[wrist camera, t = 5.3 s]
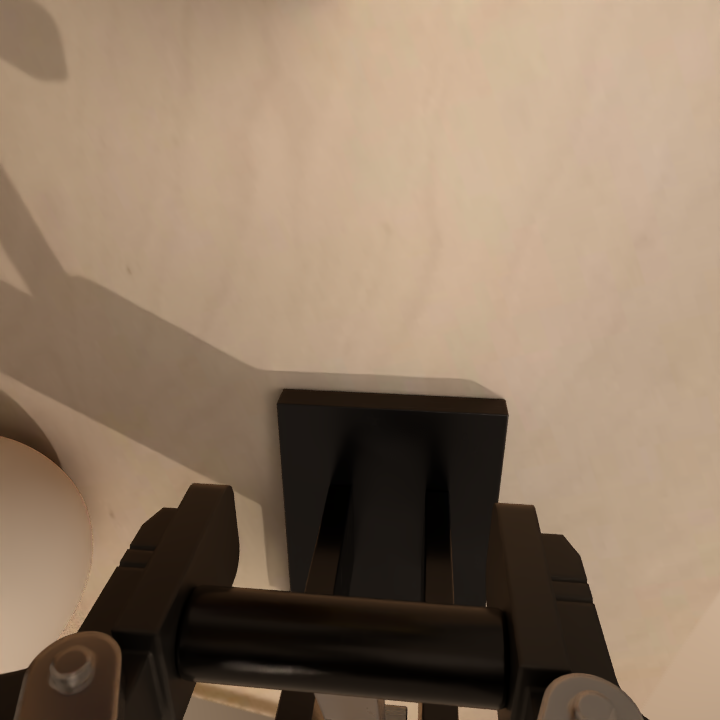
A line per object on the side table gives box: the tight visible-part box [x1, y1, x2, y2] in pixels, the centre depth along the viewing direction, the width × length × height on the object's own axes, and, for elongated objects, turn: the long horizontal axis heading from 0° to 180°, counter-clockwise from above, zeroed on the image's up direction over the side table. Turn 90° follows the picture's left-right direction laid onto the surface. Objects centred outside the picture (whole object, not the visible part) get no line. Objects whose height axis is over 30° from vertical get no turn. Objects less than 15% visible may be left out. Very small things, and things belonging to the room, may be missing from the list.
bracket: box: [275, 389, 509, 720], centre depth 22 cm, size 12×9×13 cm
